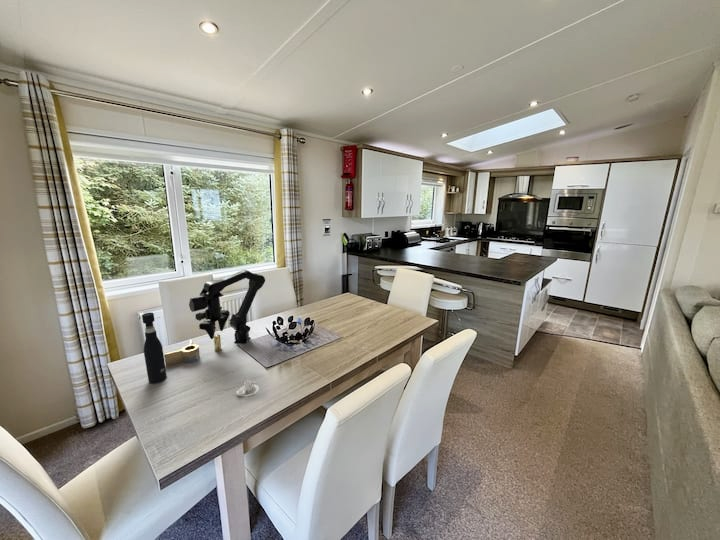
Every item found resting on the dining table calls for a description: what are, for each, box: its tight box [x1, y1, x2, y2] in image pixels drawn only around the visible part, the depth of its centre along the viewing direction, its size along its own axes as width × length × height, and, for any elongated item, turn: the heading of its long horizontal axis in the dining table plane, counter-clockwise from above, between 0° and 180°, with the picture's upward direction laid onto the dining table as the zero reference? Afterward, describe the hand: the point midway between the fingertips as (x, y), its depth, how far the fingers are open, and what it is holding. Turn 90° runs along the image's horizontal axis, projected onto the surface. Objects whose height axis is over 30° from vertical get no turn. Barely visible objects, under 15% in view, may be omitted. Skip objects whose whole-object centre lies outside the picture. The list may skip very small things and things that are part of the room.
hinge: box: [163, 338, 201, 367], centre depth 140 cm, size 12×16×6 cm
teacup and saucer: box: [235, 379, 260, 397], centre depth 117 cm, size 9×8×4 cm
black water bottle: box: [141, 312, 168, 385], centre depth 120 cm, size 6×6×30 cm
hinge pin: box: [213, 333, 222, 352], centre depth 148 cm, size 3×3×8 cm
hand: (216, 334), depth 147 cm, fingers open, 9 cm apart
